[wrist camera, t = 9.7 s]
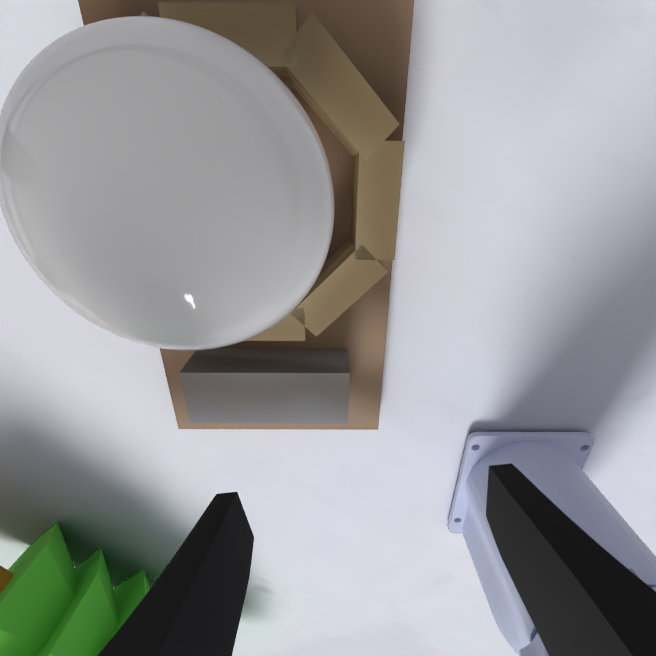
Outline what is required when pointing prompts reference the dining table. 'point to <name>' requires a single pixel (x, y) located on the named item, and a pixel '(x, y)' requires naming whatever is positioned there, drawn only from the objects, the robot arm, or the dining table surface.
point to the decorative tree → (62, 601)
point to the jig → (349, 218)
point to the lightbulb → (164, 183)
